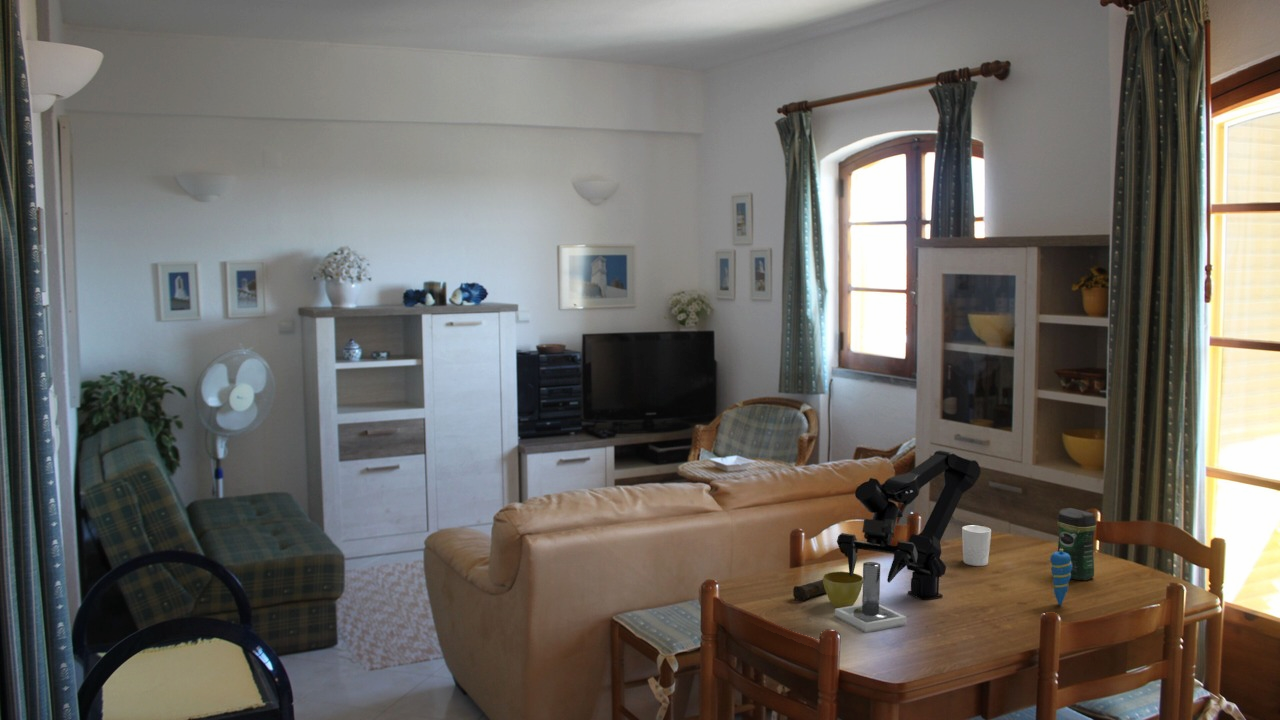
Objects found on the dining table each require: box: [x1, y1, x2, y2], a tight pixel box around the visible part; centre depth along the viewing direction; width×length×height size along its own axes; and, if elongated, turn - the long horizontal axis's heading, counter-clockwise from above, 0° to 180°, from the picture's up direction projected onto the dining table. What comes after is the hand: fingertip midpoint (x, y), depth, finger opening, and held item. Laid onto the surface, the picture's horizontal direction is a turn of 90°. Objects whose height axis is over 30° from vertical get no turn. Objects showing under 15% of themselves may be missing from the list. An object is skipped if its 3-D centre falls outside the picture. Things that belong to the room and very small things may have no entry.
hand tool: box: [792, 570, 844, 602], centre depth 269 cm, size 19×4×5 cm, turn 127°
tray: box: [834, 603, 907, 634], centre depth 249 cm, size 12×12×2 cm
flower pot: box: [822, 571, 863, 608], centre depth 260 cm, size 10×10×7 cm
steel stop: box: [853, 561, 888, 623], centre depth 248 cm, size 8×8×14 cm
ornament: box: [1050, 548, 1073, 606], centre depth 261 cm, size 5×5×15 cm
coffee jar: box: [1056, 507, 1097, 581], centre depth 285 cm, size 10×8×19 cm
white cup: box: [961, 524, 992, 567], centre depth 297 cm, size 8×8×10 cm
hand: (869, 578), depth 247 cm, fingers open, 9 cm apart
